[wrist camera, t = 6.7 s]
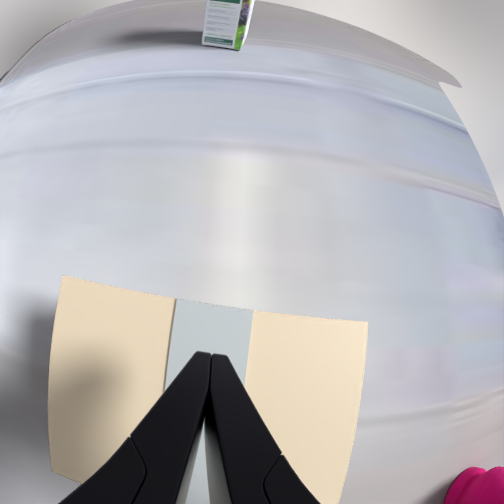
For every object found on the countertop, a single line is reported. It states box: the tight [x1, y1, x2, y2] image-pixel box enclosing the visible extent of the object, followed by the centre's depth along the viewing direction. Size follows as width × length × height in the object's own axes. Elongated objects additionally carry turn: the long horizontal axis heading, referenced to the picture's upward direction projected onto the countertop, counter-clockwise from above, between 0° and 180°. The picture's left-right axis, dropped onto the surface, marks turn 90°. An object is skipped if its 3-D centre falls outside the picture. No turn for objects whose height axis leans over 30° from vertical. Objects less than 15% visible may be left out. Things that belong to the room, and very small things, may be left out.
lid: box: [48, 275, 368, 504], centre depth 10 cm, size 10×14×1 cm
